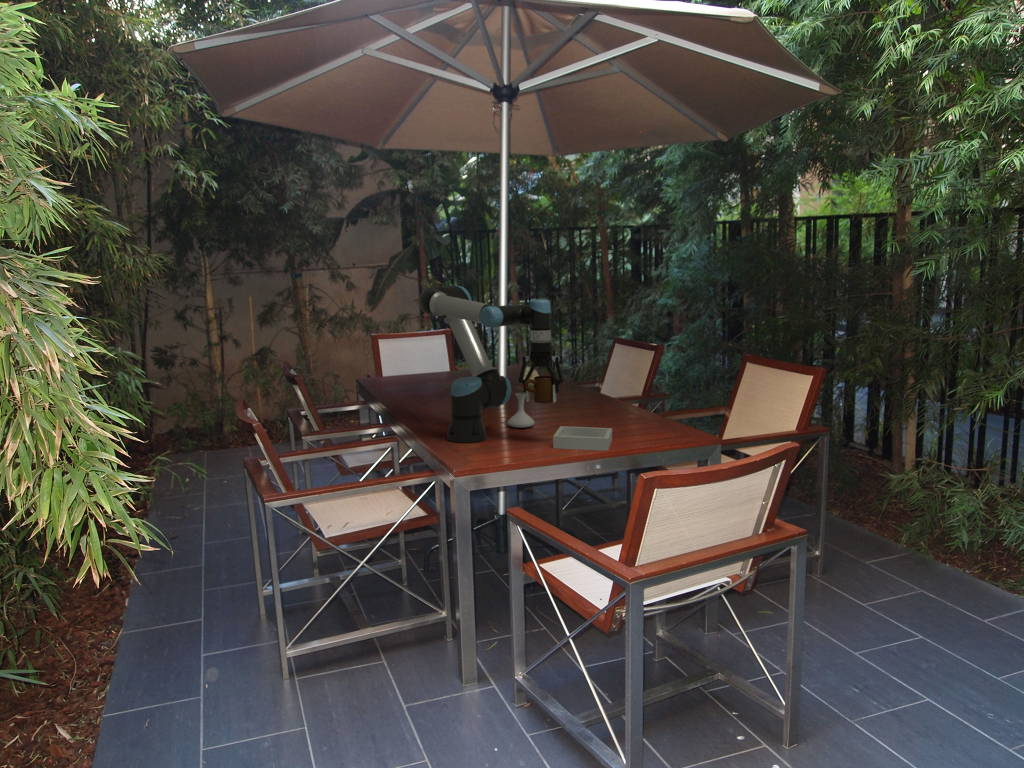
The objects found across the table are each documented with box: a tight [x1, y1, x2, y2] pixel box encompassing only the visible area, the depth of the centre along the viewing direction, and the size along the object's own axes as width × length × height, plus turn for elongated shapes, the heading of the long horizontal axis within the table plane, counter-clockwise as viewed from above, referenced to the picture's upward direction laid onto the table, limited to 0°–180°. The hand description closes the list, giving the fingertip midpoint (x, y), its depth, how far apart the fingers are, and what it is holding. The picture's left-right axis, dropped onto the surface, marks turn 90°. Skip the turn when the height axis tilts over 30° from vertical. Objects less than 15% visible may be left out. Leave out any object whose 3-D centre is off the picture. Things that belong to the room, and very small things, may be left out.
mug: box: [523, 375, 555, 404], centre depth 299 cm, size 12×8×9 cm, turn 117°
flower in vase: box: [507, 366, 540, 429], centre depth 330 cm, size 13×11×25 cm
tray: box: [552, 425, 613, 452], centre depth 300 cm, size 20×18×4 cm
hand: (541, 401), depth 299 cm, fingers closed on mug, 9 cm apart
